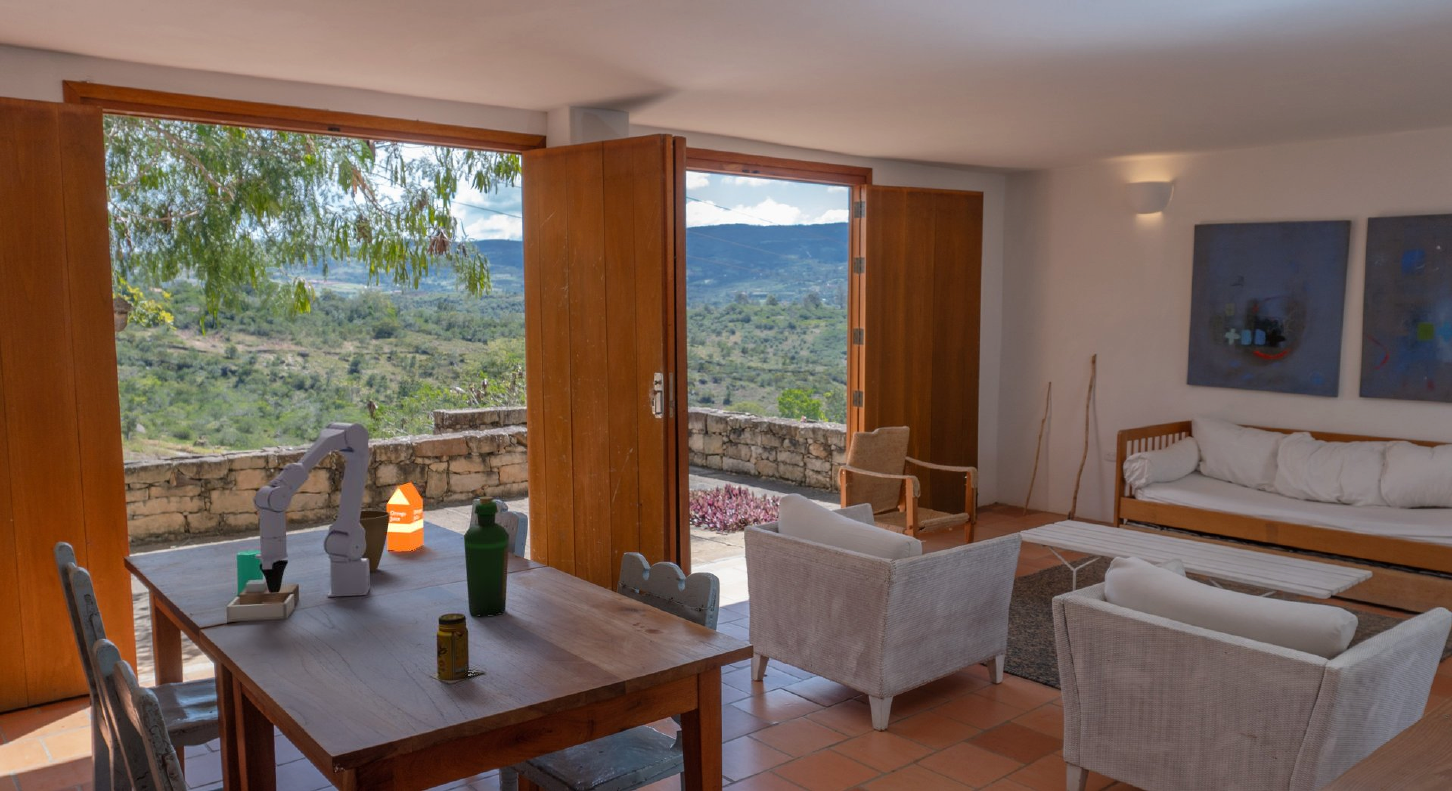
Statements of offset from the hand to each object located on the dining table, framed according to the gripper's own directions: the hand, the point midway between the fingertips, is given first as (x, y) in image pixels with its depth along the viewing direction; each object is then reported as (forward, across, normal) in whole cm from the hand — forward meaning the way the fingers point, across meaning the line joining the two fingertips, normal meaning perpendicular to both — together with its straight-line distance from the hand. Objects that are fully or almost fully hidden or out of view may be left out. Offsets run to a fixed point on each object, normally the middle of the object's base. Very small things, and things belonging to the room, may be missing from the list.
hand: (274, 592), depth 241 cm
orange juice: (+5, -66, +24) cm, 70 cm away
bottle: (+5, +10, +50) cm, 51 cm away
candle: (+5, -20, -10) cm, 23 cm away
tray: (+5, +2, -3) cm, 6 cm away
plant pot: (+5, -39, +15) cm, 42 cm away
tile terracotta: (+2, +3, 0) cm, 3 cm away
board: (+5, -6, -3) cm, 9 cm away
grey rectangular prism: (+1, -6, -6) cm, 9 cm away
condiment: (+5, +53, +45) cm, 70 cm away
